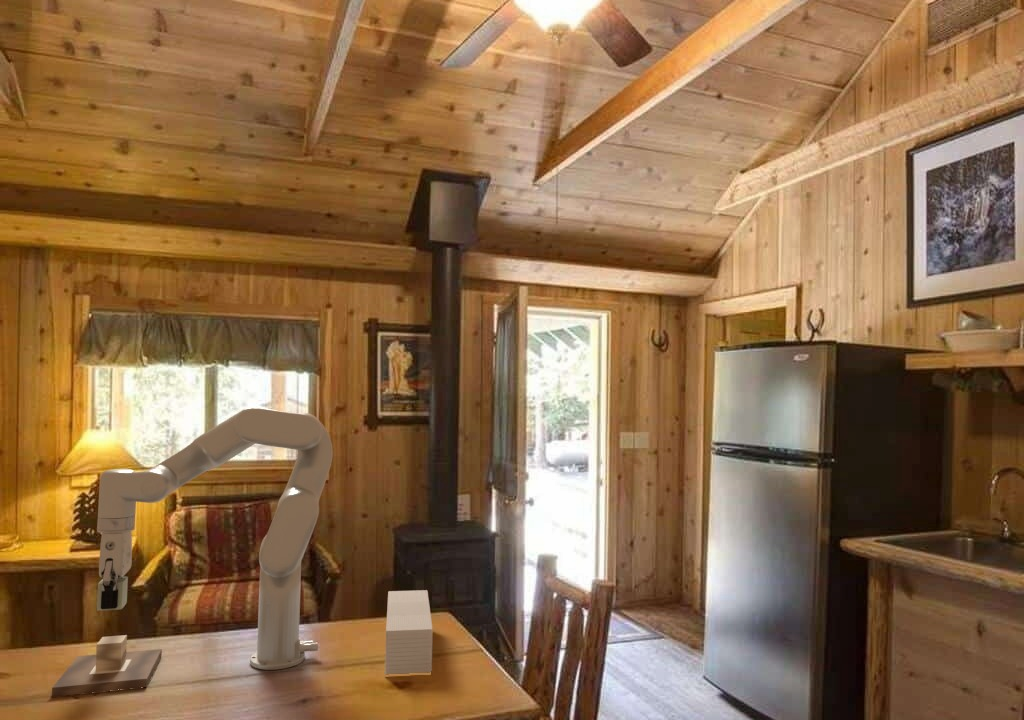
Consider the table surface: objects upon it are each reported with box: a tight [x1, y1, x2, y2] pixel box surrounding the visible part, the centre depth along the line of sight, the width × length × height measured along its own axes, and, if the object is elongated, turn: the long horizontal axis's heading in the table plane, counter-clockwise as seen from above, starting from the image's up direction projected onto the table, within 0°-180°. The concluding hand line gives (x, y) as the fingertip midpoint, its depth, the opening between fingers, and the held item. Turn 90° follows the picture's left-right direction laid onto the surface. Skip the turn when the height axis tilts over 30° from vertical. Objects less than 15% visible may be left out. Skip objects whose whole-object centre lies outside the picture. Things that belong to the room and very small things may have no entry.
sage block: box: [96, 576, 129, 612], centre depth 159 cm, size 5×5×6 cm
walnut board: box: [51, 648, 163, 698], centre depth 159 cm, size 18×18×2 cm
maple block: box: [95, 634, 128, 672], centre depth 159 cm, size 5×5×6 cm
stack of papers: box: [384, 589, 434, 676], centre depth 177 cm, size 32×11×11 cm, turn 9°
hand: (112, 603), depth 159 cm, fingers closed on sage block, 4 cm apart
